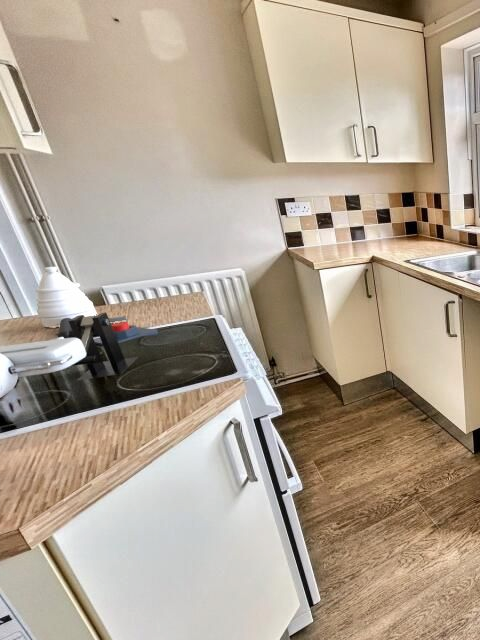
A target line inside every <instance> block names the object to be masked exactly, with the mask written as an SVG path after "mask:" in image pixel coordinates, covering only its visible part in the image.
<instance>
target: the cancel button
mask: <svg viewBox="0 0 480 640" xmlns="http://www.w3.org/2000/svg"><path fill="white" fill-rule="evenodd" d="M129 325H130V324H129V322H128V321H127V322H120V323H115V324H111V326H112V328H113V331H114V332H117V331H123V330H127V329H130V327H129Z"/></svg>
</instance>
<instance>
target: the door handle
mask: <svg viewBox="0 0 480 640" xmlns="http://www.w3.org/2000/svg"><path fill="white" fill-rule="evenodd" d="M108 318H109V321H110V322H115V321H122V320H127V321H128V319H127V316H126V315H124V316H116V317H108ZM69 320H71V318H64V319H62V320H61V322H60V327H59V328H58V332H57V333H56V334H54V336H57V337H64V339H65V338H75V335H74V333H73V331H72V328H71V326H70V324H69ZM57 325H58V324H57ZM94 335H98V336H99V334H98V332H93V334H92V336H93V337H95V336H94Z"/></svg>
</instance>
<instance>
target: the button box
mask: <svg viewBox="0 0 480 640" xmlns="http://www.w3.org/2000/svg"><path fill="white" fill-rule="evenodd" d="M129 327H130V329H127V330H123V331H117V332H114V333H115V336H116V338H117V341H118V344H120V343H124V342H128V341H130V340H134V339H138V338H141V337H146V336H154V335H159V331H158V329H156V328H149V327H141V326H137V325H134V324H131V325H130V324H129ZM93 339H94V341H95V343H96V345H100V346H103V344H102V341H101V339H100V337H97V338H93Z"/></svg>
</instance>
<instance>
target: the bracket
mask: <svg viewBox="0 0 480 640" xmlns="http://www.w3.org/2000/svg"><path fill="white" fill-rule="evenodd" d="M83 317H84V315H78V316H76V317H75V318H73V319H71V320H69V324H70V326H71V328H72V331H73V333H74V335H75V338H78V339H80V340H81V339H82V336H83V333H84V330H83V328H82V327H81V326H80V325H81V322H82V319H83ZM109 318H110V317H109V315H108V313H107V312H100V313H97V316H95V317H93V318H92V319H93V322H94V324H95V327H96V329H97V332H98V334H99V335H98V337H99V338H100V339H101V341H102V344H103V345H102V346H103V349H104V351H105V354H106V356H107V358H108V360H106V361H104V360H103V358H102V356H101V353H100V351H99V348H98V346H97V344H96V343H95V341H94V339H95V338H94V336H92V337H91V340H90V344H89V347H88V350H87V354H86V357H89V356H97V357H98V362H96V363H89V364H86V366H87V368H88V370H87V371H86V372H85V373H83V374H82V375H81V376H80V377H78V378H77V379H75V382H79V381H85V380H92V379H98V378H99V379H100V378H104V377H110V376H119V375H122V374H123V373H124V372H125V371H126V370H127V369H128V368H129V367H130V366H131V365H133V363H135V361H136V360H137V359H138V358H139V356H133V357H127V358H125V356H124V354H123V351H122V349H121V346H120V343H118V341H117V338H116V336H115V333H114V331H113V328H112V326H111V325H112V324H111V323H110V321H109Z"/></svg>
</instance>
